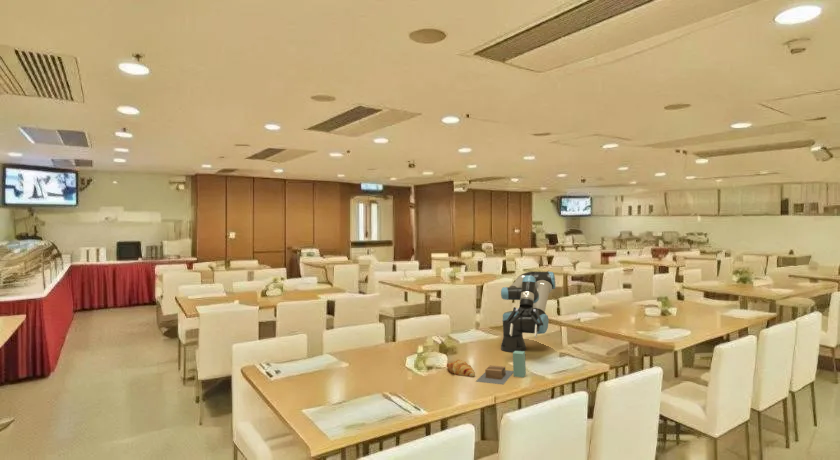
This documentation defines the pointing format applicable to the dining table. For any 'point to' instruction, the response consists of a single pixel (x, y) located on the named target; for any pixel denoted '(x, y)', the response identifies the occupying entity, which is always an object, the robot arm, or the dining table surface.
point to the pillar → (519, 364)
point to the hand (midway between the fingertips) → (523, 336)
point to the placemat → (495, 381)
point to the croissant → (461, 368)
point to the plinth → (495, 372)
